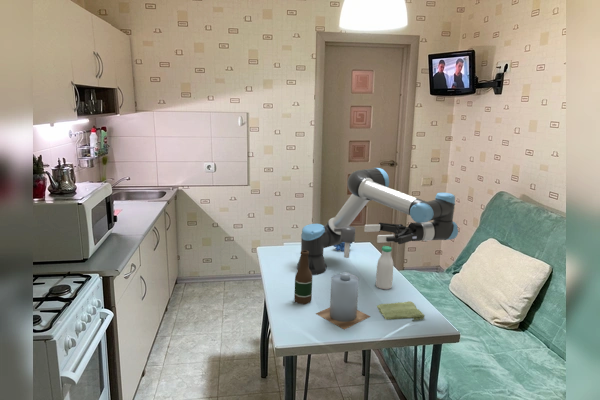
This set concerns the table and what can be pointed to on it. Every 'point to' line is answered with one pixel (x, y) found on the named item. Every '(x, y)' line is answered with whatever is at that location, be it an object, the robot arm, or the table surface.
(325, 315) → the walnut board
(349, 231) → the pump plunger
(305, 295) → the beer bottle
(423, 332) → the table surface
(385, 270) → the milk bottle
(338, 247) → the grapes
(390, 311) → the washcloth
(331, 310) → the soap dispenser
